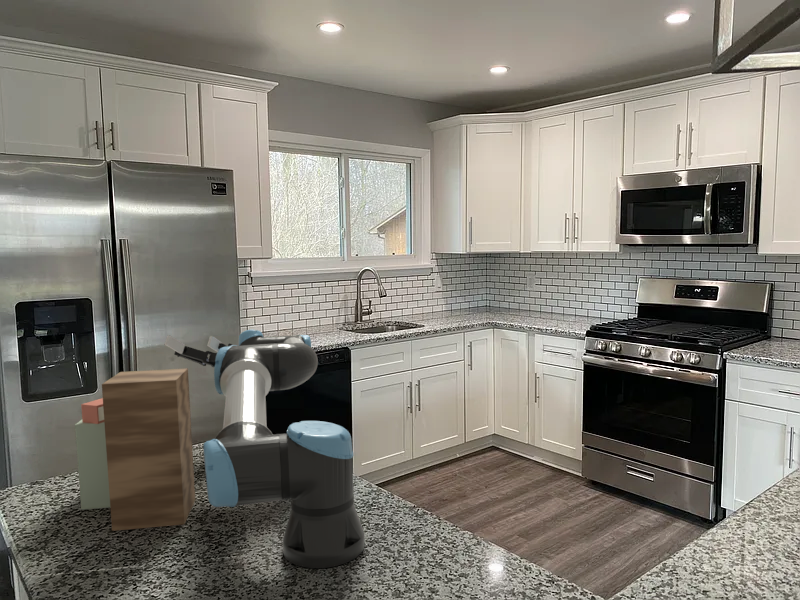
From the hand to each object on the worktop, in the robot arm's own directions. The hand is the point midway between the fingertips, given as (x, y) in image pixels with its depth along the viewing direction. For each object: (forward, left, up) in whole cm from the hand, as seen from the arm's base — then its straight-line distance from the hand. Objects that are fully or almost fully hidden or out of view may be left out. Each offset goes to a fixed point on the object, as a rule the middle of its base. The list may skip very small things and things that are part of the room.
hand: (187, 340), depth 154 cm
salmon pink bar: (-13, +11, -14) cm, 22 cm away
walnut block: (-29, +3, -33) cm, 44 cm away
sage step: (-16, +14, -33) cm, 39 cm away
